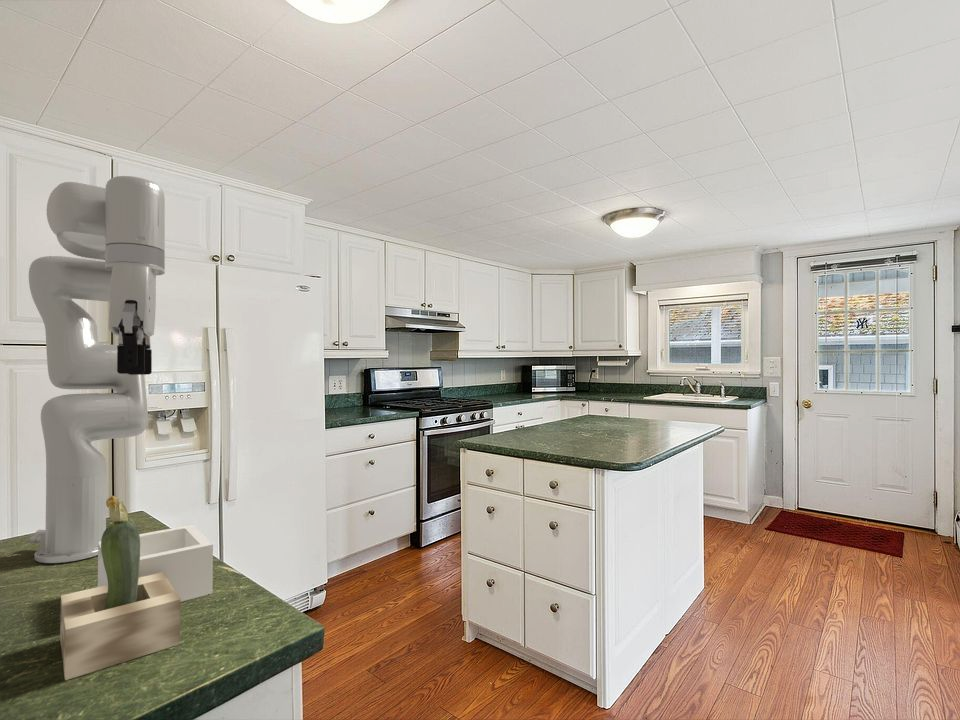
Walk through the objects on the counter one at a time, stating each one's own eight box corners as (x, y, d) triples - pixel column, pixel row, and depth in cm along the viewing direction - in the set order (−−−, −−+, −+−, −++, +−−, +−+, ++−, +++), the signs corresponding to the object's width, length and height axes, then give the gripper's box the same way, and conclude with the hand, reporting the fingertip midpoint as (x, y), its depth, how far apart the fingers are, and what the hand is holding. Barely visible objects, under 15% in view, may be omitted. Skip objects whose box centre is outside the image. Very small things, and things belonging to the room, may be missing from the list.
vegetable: (133, 630, 72) (135, 488, 72) (144, 640, 69) (145, 493, 69) (95, 643, 69) (97, 494, 69) (104, 655, 66) (106, 499, 66)
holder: (65, 680, 60) (65, 629, 60) (60, 639, 69) (60, 595, 69) (180, 644, 68) (180, 599, 68) (162, 611, 77) (163, 572, 77)
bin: (107, 621, 74) (107, 566, 74) (97, 589, 85) (98, 541, 85) (212, 593, 84) (212, 544, 84) (192, 568, 94) (192, 524, 94)
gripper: (115, 270, 83) (114, 375, 83) (93, 245, 68) (93, 373, 68) (168, 274, 87) (168, 374, 86) (159, 251, 72) (159, 372, 71)
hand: (135, 374), depth 77 cm, fingers open, 9 cm apart
